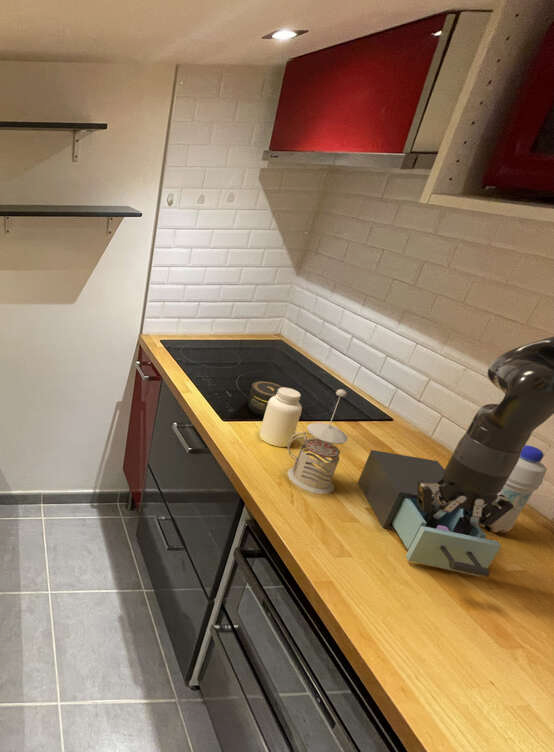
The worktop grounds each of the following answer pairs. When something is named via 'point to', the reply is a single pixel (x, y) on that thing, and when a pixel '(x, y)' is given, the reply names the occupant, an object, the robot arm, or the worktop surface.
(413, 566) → the worktop surface
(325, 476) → the french press
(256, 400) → the jar
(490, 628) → the worktop surface
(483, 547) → the light blue drawer
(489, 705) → the worktop surface
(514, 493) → the bottle
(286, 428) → the pill bottle
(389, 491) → the drawer cabinet casing
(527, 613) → the worktop surface
